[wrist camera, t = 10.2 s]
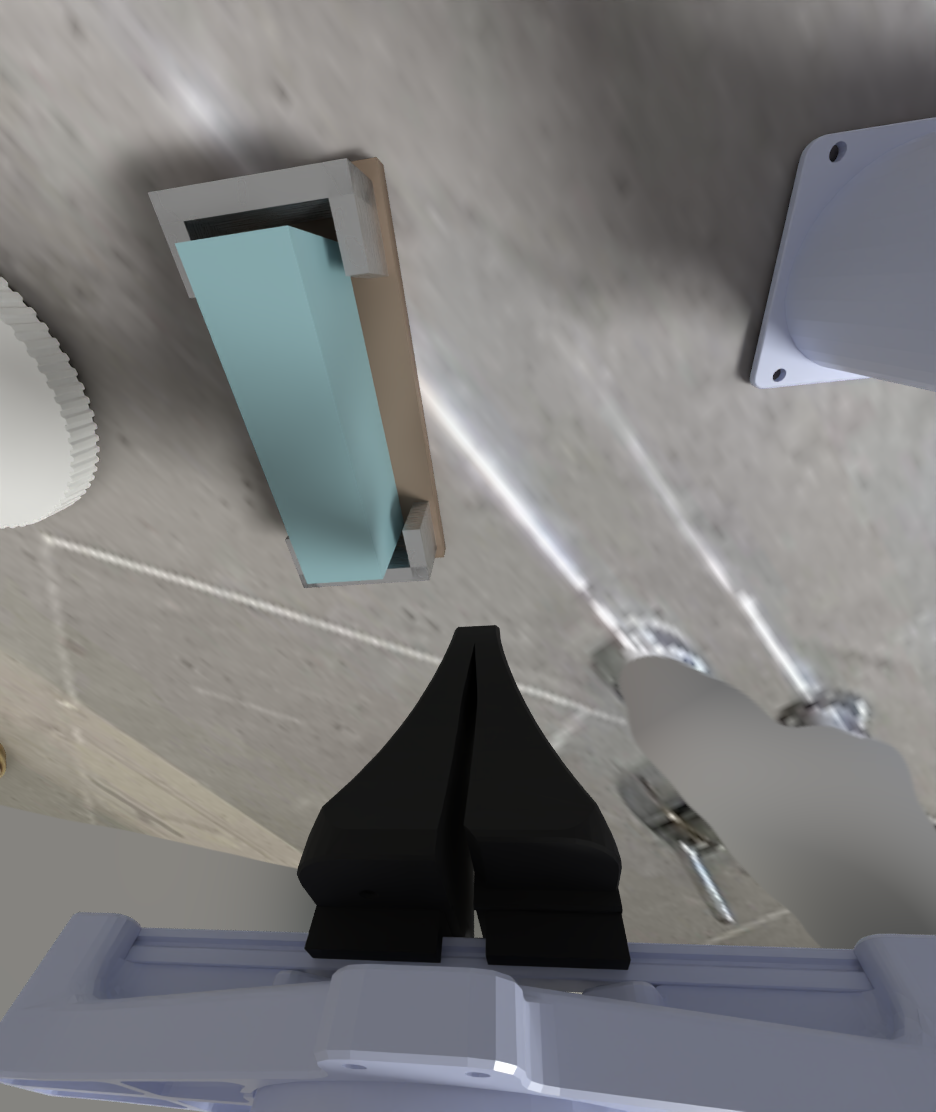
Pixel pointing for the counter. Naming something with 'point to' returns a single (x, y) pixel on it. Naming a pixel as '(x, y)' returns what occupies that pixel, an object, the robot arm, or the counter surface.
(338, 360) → the teal rectangular block
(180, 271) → the end caps
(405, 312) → the end cap board
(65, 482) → the plastic lid
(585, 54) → the counter surface
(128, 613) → the counter surface
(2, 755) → the toy sandwich meal
